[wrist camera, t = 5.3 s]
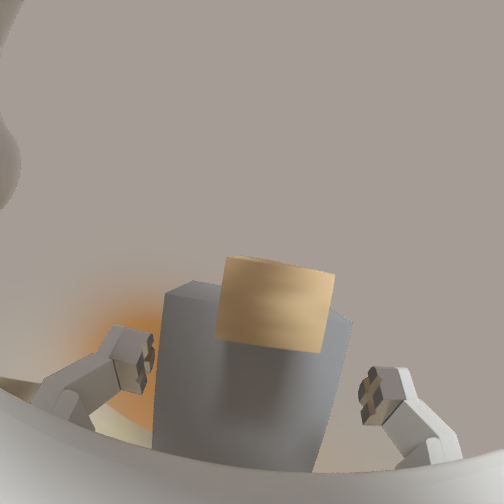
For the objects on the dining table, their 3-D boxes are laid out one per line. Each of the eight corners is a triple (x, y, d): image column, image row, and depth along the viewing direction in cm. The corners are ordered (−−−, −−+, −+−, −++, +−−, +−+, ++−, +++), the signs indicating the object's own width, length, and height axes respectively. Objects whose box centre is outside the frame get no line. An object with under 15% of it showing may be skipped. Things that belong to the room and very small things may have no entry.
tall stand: (152, 543, 19) (165, 293, 19) (171, 488, 29) (192, 280, 29) (275, 560, 19) (352, 322, 19) (270, 502, 29) (319, 300, 29)
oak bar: (213, 338, 11) (226, 257, 11) (237, 283, 33) (241, 255, 33) (320, 353, 11) (335, 274, 11) (274, 290, 33) (279, 261, 33)
